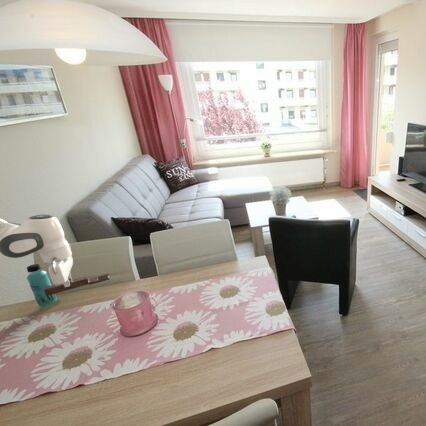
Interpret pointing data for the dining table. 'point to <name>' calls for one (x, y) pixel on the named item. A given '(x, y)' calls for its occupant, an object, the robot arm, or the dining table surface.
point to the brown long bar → (75, 284)
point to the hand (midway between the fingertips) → (68, 283)
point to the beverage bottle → (40, 285)
